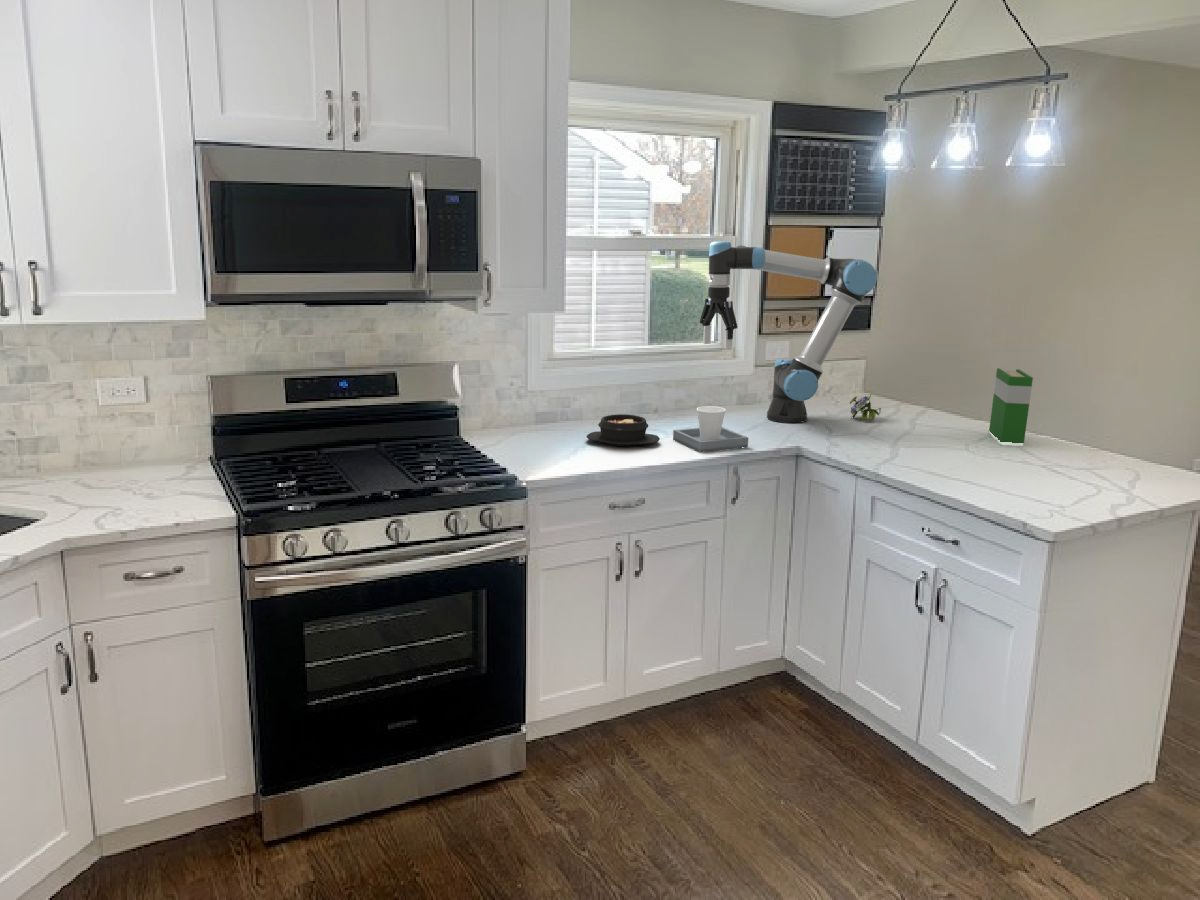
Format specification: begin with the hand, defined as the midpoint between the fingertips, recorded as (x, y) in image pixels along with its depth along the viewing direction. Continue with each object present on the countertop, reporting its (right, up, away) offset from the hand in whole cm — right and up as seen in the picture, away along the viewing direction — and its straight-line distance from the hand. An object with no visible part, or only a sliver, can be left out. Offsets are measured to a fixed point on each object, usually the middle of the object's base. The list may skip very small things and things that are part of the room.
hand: (717, 346), depth 323 cm
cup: (-5, -35, -19) cm, 40 cm away
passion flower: (+59, -26, +23) cm, 69 cm away
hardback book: (+101, -34, -7) cm, 106 cm away
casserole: (-35, -35, -19) cm, 53 cm away
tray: (-5, -35, -18) cm, 40 cm away
